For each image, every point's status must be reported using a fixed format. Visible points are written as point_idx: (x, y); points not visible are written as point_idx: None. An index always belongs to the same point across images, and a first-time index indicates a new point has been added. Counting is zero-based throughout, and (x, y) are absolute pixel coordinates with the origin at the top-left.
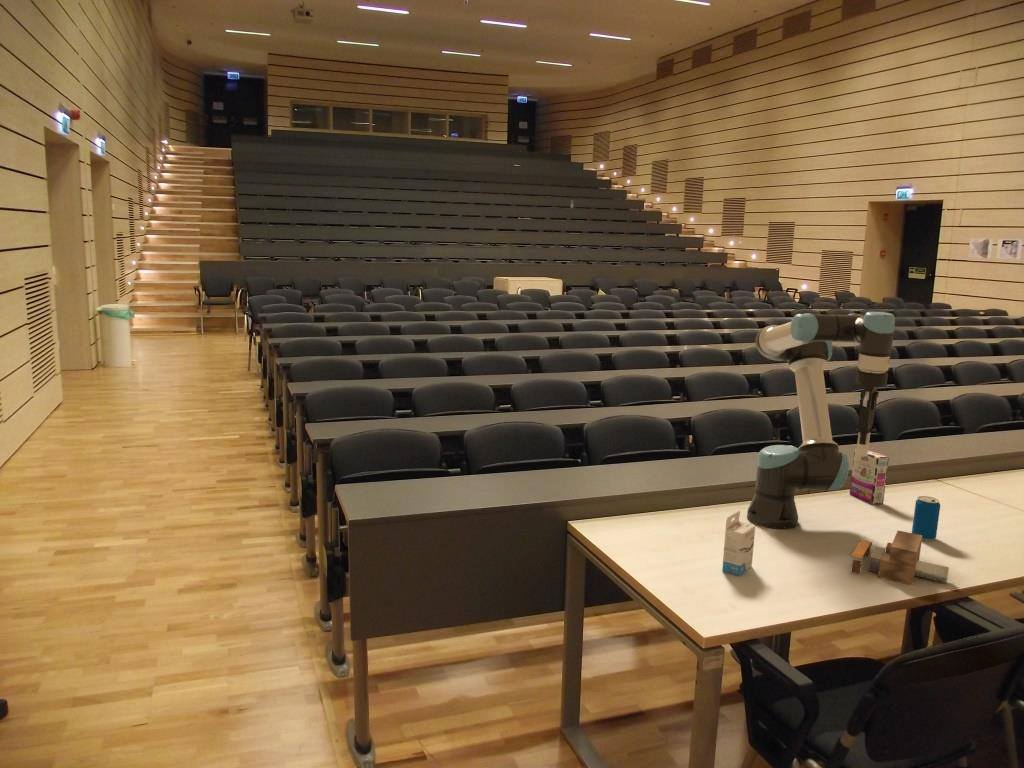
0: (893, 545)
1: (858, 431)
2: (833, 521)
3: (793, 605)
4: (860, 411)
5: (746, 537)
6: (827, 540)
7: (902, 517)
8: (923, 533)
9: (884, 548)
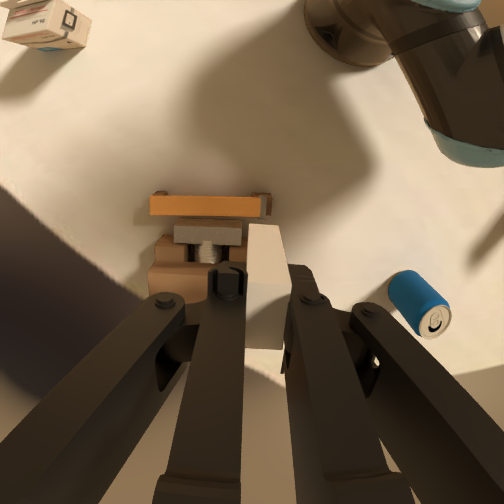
0: (157, 276)
1: (213, 286)
2: (417, 134)
3: (4, 149)
4: (23, 429)
5: (19, 39)
6: (302, 127)
7: (478, 249)
8: (392, 292)
9: (238, 244)
